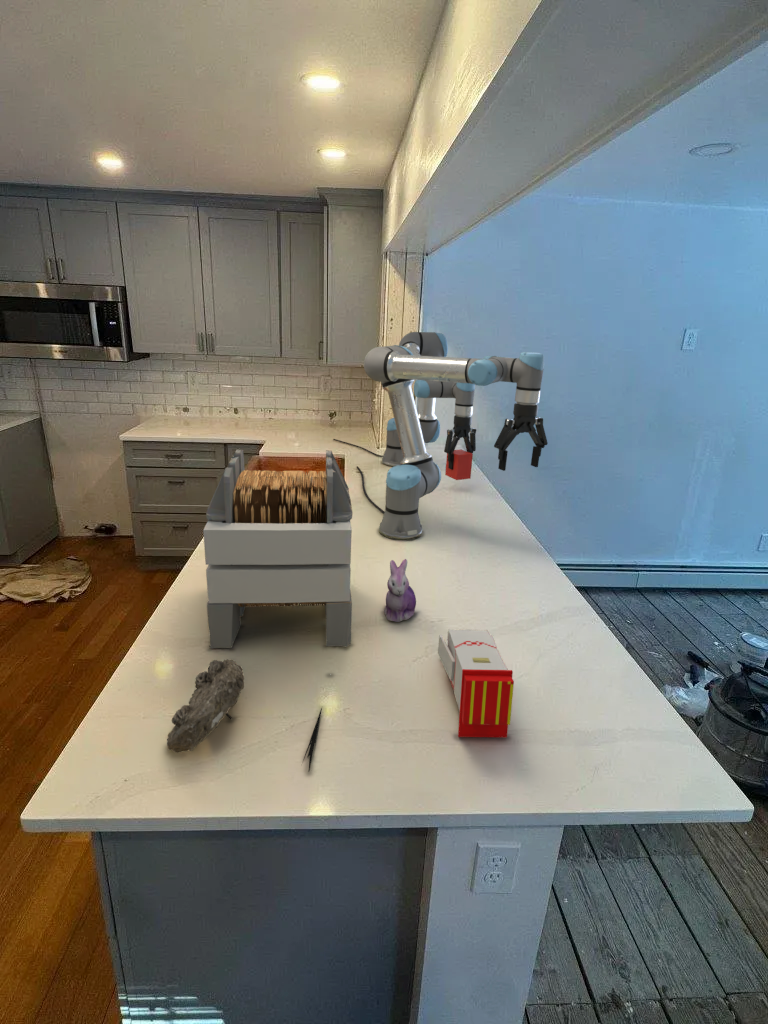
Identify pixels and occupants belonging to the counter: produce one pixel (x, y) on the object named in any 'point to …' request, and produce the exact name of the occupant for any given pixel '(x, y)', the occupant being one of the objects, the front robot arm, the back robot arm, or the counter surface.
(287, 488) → the record crate
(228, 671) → the fossil
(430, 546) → the counter surface
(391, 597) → the figurine
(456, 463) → the brick
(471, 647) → the toy
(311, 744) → the feather
